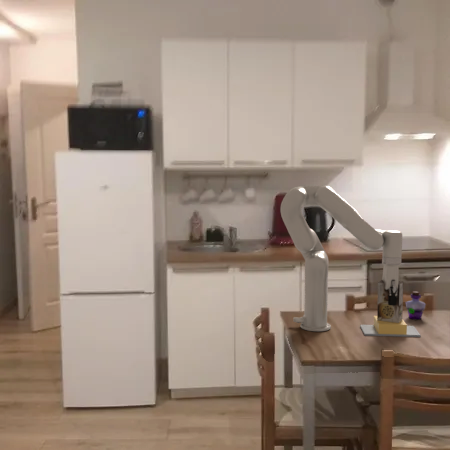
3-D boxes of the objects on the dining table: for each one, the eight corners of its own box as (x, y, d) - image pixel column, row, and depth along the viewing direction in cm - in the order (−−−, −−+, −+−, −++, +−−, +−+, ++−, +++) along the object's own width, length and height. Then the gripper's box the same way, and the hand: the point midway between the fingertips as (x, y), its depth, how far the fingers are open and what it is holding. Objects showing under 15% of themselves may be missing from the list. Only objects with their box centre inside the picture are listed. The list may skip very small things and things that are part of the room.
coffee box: (402, 319, 251) (404, 281, 249) (398, 323, 245) (400, 284, 243) (380, 316, 255) (382, 278, 253) (376, 320, 250) (377, 281, 248)
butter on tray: (364, 335, 245) (364, 323, 245) (360, 326, 258) (360, 315, 258) (420, 336, 243) (421, 325, 243) (413, 327, 256) (413, 316, 256)
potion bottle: (403, 319, 269) (404, 292, 268) (405, 314, 277) (406, 288, 275) (424, 321, 266) (425, 294, 264) (425, 316, 274) (426, 290, 272)
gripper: (378, 257, 256) (377, 297, 258) (386, 264, 239) (384, 307, 241) (397, 257, 256) (395, 297, 258) (405, 265, 238) (403, 307, 240)
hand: (389, 302), depth 249 cm, fingers open, 9 cm apart
